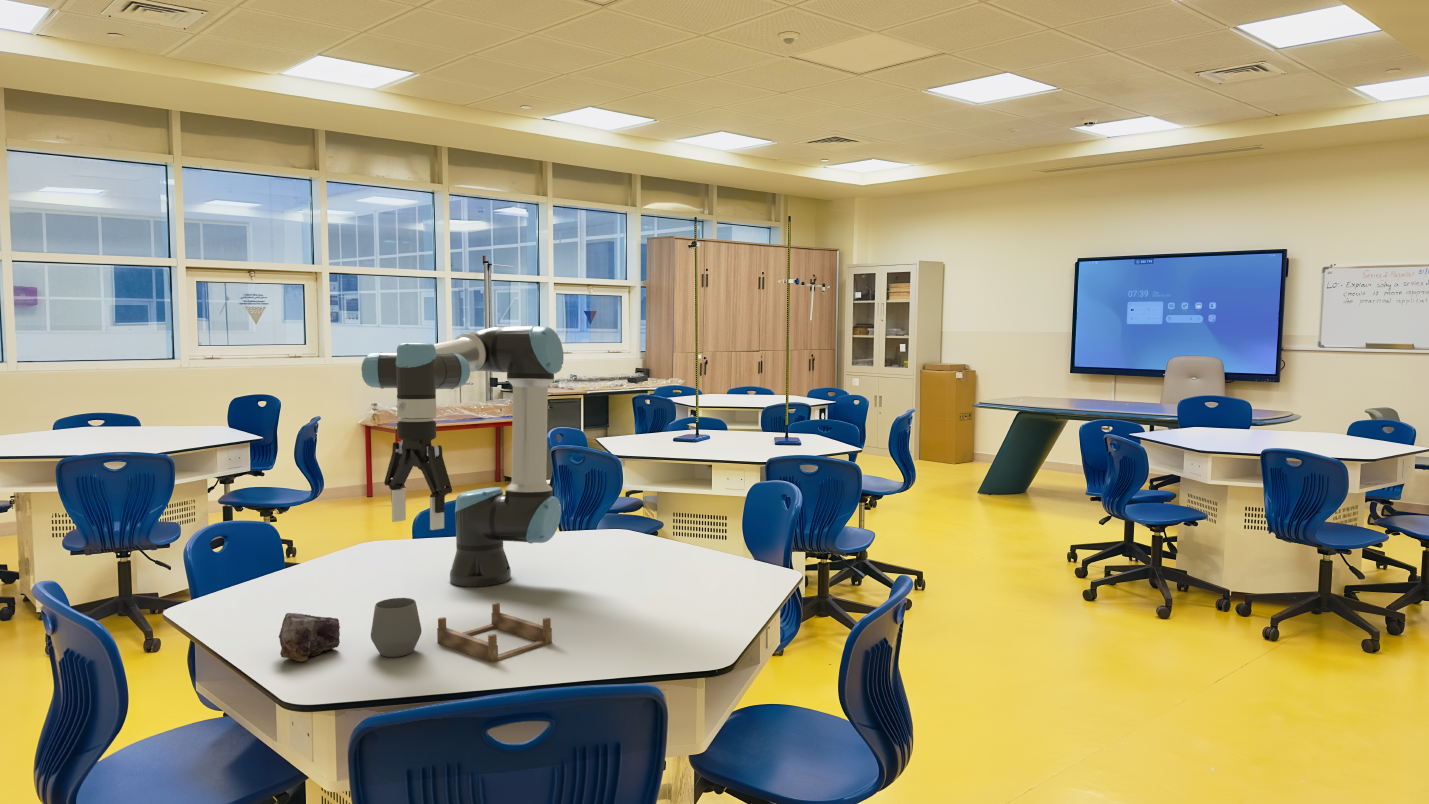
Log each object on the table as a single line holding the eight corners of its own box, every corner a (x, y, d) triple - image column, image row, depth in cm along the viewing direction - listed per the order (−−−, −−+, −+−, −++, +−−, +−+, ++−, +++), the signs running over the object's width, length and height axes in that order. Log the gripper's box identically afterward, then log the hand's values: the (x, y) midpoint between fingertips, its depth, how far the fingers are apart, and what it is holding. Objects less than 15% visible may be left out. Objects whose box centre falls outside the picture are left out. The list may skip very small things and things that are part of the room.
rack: (436, 642, 189) (436, 618, 189) (497, 624, 201) (496, 602, 200) (491, 662, 177) (491, 637, 177) (552, 642, 189) (552, 618, 189)
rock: (344, 658, 184) (312, 647, 189) (349, 614, 184) (318, 605, 190) (290, 666, 174) (259, 655, 179) (296, 621, 174) (264, 611, 180)
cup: (431, 647, 186) (430, 598, 185) (401, 663, 177) (400, 612, 176) (392, 642, 189) (391, 594, 188) (360, 657, 180) (359, 607, 179)
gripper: (366, 417, 191) (367, 520, 192) (436, 423, 176) (437, 535, 177) (398, 416, 197) (399, 515, 198) (469, 421, 181) (470, 529, 182)
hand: (417, 525), depth 187 cm, fingers open, 13 cm apart
